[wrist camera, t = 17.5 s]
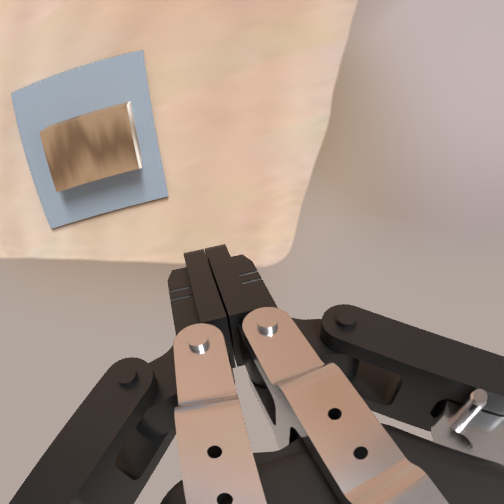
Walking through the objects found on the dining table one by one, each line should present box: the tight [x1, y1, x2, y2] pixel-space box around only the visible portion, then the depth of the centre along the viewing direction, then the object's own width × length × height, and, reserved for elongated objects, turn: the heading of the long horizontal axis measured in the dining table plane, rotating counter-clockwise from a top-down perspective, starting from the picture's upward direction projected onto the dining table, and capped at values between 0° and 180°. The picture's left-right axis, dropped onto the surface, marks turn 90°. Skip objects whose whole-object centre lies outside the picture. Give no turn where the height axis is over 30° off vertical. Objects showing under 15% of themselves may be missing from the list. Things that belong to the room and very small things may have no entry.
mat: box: [11, 50, 168, 229], centre depth 31 cm, size 18×16×1 cm
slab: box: [39, 101, 142, 192], centre depth 30 cm, size 7×4×10 cm
